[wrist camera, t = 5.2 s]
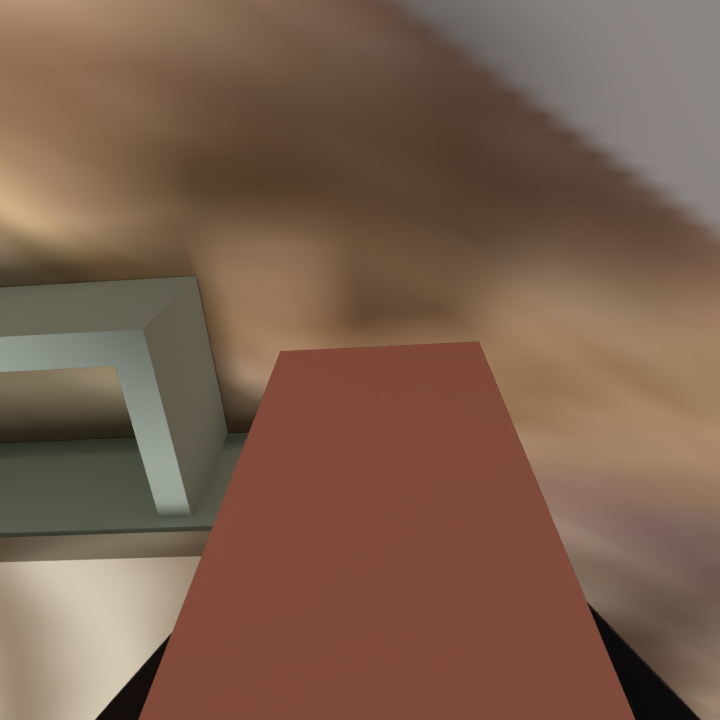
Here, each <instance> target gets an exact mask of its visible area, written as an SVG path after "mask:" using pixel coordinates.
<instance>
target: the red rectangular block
mask: <svg viewBox="0 0 720 720" xmlns="http://www.w3.org/2000/svg"><path fill="white" fill-rule="evenodd" d="M139 720H635V718H634V715H633V713H632V710H631V708H630V706H629V703H628V701H627V698H626V696H625V693H624V691H623V689H622V686H621V684H620V681H619V679H618V677H617V674H616V672H615V669H614V667H613V664H612V662H611V660H610V657H609V655H608V652H607V650H606V648H605V645H604V643H603V640H602V638H601V635H600V633H599V631H598V628H597V626H596V623H595V621H594V619H593V616H592V614H591V611H590V609H589V606H588V604H587V602H586V599H585V597H584V594H583V592H582V590H581V587H580V585H579V582H578V580H577V577H576V575H575V573H574V570H573V568H572V565H571V563H570V561H569V558H568V556H567V553H566V551H565V548H564V546H563V544H562V541H561V539H560V536H559V534H558V532H557V529H556V527H555V524H554V522H553V519H552V517H551V515H550V512H549V510H548V507H547V505H546V503H545V500H544V498H543V495H542V493H541V490H540V488H539V486H538V483H537V481H536V478H535V476H534V473H533V471H532V469H531V466H530V464H529V461H528V459H527V457H526V454H525V452H524V449H523V447H522V444H521V442H520V440H519V437H518V435H517V432H516V430H515V428H514V425H513V423H512V420H511V418H510V415H509V413H508V411H507V408H506V406H505V403H504V401H503V399H502V396H501V394H500V391H499V389H498V386H497V384H496V382H495V379H494V377H493V374H492V372H491V370H490V367H489V365H488V362H487V360H486V357H485V355H484V353H483V350H482V348H481V345H480V343H479V342H461V343H440V344H420V345H399V346H379V347H358V348H338V349H318V350H297V351H280V353H279V356H278V359H277V361H276V364H275V366H274V369H273V372H272V374H271V377H270V379H269V382H268V385H267V387H266V390H265V392H264V395H263V398H262V400H261V403H260V405H259V408H258V411H257V413H256V416H255V418H254V421H253V424H252V426H251V429H250V431H249V434H248V437H247V439H246V442H245V444H244V447H243V450H242V452H241V455H240V457H239V460H238V462H237V465H236V468H235V470H234V473H233V475H232V478H231V481H230V483H229V486H228V488H227V491H226V494H225V496H224V499H223V501H222V504H221V507H220V509H219V512H218V514H217V517H216V520H215V522H214V525H213V527H212V530H211V533H210V535H209V538H208V540H207V543H206V546H205V548H204V551H203V553H202V556H201V559H200V561H199V564H198V566H197V569H196V572H195V574H194V577H193V579H192V582H191V585H190V587H189V590H188V592H187V595H186V598H185V600H184V603H183V605H182V608H181V611H180V613H179V616H178V618H177V621H176V624H175V626H174V629H173V631H172V634H171V637H170V639H169V642H168V644H167V647H166V650H165V652H164V655H163V657H162V660H161V663H160V665H159V668H158V670H157V673H156V676H155V678H154V681H153V683H152V686H151V689H150V691H149V694H148V696H147V699H146V702H145V704H144V707H143V709H142V712H141V714H140V717H139Z"/></svg>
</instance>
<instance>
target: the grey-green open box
mask: <svg viewBox="0 0 720 720" xmlns="http://www.w3.org/2000/svg"><path fill="white" fill-rule="evenodd" d="M108 366H115V367H116V371H117V374H118V378H119V381H120V385H121V388H122V392H123V395H124V398H125V402H126V405H127V409H128V412H129V416H130V419H131V422H132V426H133V429H134V433H135V436H136V437H135V438H112V439H89V440H65V441H42V442H19V443H0V538H1V537H31V536H61V535H91V534H121V533H151V532H181V531H211V530H212V527H213V525H214V522H215V520H216V517H217V514H218V512H219V509H220V507H221V504H222V501H223V499H224V496H225V494H226V491H227V488H228V486H229V483H230V481H231V478H232V475H233V473H234V470H235V468H236V465H237V462H238V460H239V457H240V455H241V452H242V450H243V447H244V444H245V442H246V439H247V437H248V434H249V433H228V430H227V425H226V420H225V415H224V410H223V405H222V400H221V396H220V391H219V386H218V381H217V376H216V371H215V366H214V361H213V356H212V351H211V346H210V342H209V337H208V332H207V327H206V322H205V317H204V312H203V307H202V302H201V297H200V293H199V288H198V283H197V278H196V276H186V277H169V278H152V279H135V280H118V281H101V282H84V283H67V284H50V285H33V286H16V287H0V372H9V371H29V370H49V369H68V368H88V367H108Z"/></svg>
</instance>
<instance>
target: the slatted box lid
mask: <svg viewBox="0 0 720 720" xmlns="http://www.w3.org/2000/svg"><path fill="white" fill-rule="evenodd" d="M210 533H211V531H181V532H151V533H121V534H91V535H61V536H31V537H1V538H0V720H95V719H96V718H97V716H98V715H99V714H100V713H101V712H102V711H103V710H104V709H105V707H106V706H107V705H108V704H109V703H110V702H111V701H112V699H113V698H114V697H115V696H116V695H117V694H118V693H119V692H120V690H121V689H122V688H123V687H124V686H125V685H126V684H127V682H128V681H129V680H130V679H131V678H132V677H133V676H134V675H135V673H136V672H137V671H138V670H139V669H140V668H141V667H142V665H143V664H144V663H145V662H146V661H147V660H148V659H149V658H150V656H151V655H152V654H153V653H154V652H155V651H156V650H157V648H158V647H159V646H160V645H161V644H162V643H163V642H164V641H165V639H166V638H167V637H168V636H169V635H170V634H171V633H172V631H173V629H174V626H175V624H176V621H177V618H178V616H179V613H180V611H181V608H182V605H183V603H184V600H185V598H186V595H187V592H188V590H189V587H190V585H191V582H192V579H193V577H194V574H195V572H196V569H197V566H198V564H199V561H200V559H201V556H202V553H203V551H204V548H205V546H206V543H207V540H208V538H209V535H210Z"/></svg>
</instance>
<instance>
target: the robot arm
mask: <svg viewBox="0 0 720 720" xmlns="http://www.w3.org/2000/svg"><path fill="white" fill-rule="evenodd" d="M586 602H587V601H586ZM587 604H588V606H589V609H590V611H591V614H592V616H593V619H594V621H595V623H596V626H597V628H598V631H599V633H600V635H601V638H602V640H603V643H604V645H605V648H606V650H607V652H608V655H609V657H610V660H611V662H612V664H613V667H614V669H615V672H616V674H617V677H618V679H619V681H620V684H621V686H622V689H623V691H624V693H625V696H626V698H627V701H628V703H629V706H630V708H631V710H632V713H633V715H634V718H635V720H701V719H700V718H699V717H698V716H697V715H696V714H695V713H694V712H693V711H692V710H691V709H690V708H689V707H688V706H687V705H686V704H685V703H684V702H683V701H682V699H681V698H680V697H679V696H678V695H677V694H676V693H675V692H674V691H673V690H672V689H671V688H670V687H669V686H668V685H667V684H666V683H665V682H664V681H663V680H662V679H661V678H660V677H659V676H658V675H657V674H656V673H655V672H654V671H653V669H652V668H651V667H650V666H649V665H648V664H647V663H646V662H645V661H644V660H643V659H642V658H641V657H640V656H639V655H638V654H637V653H636V652H635V651H634V650H633V649H632V648H631V647H630V646H629V645H628V644H627V643H626V642H625V641H624V639H623V638H622V637H621V636H620V635H619V634H618V633H617V632H616V631H615V630H614V629H613V628H612V627H611V626H610V625H609V624H608V623H607V622H606V621H605V620H604V619H603V618H602V617H601V616H600V615H599V614H598V613H597V612H596V611H595V609H594V608H593V607H592V606H591V605H590V604H589V603H588V602H587ZM171 634H172V633H171ZM171 634H170V635H169V636H168V637H167V638H166V639H165V641H164V642H163V643H162V644H161V645H160V646H159V647H158V648H157V650H156V651H155V652H154V653H153V654H152V655H151V656H150V658H149V659H148V660H147V661H146V662H145V663H144V664H143V665H142V667H141V668H140V669H139V670H138V671H137V672H136V673H135V675H134V676H133V677H132V678H131V679H130V680H129V681H128V682H127V684H126V685H125V686H124V687H123V688H122V689H121V690H120V692H119V693H118V694H117V695H116V696H115V697H114V698H113V699H112V701H111V702H110V703H109V704H108V705H107V706H106V707H105V709H104V710H103V711H102V712H101V713H100V714H99V715H98V716H97V718H96V719H95V720H139V717H140V714H141V712H142V709H143V707H144V704H145V702H146V699H147V696H148V694H149V691H150V689H151V686H152V683H153V681H154V678H155V676H156V673H157V670H158V668H159V665H160V663H161V660H162V657H163V655H164V652H165V650H166V647H167V644H168V642H169V639H170V637H171Z"/></svg>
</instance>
